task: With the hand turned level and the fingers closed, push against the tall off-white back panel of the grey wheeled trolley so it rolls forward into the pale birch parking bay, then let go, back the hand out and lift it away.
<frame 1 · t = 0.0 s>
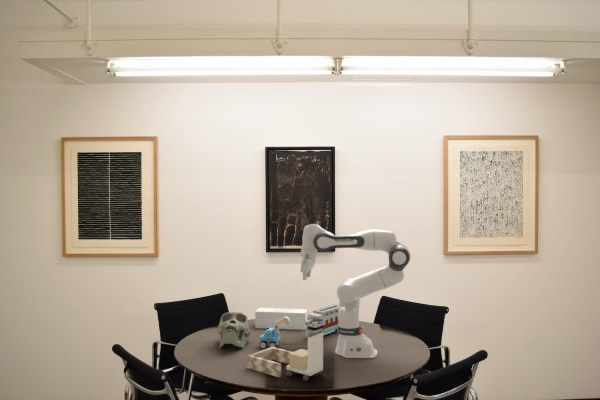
hand: (306, 278, 263), 39 cm above the table, tool pointing down, fingers open, 8 cm apart
toy vehicle: (325, 334, 293), on the table
toy excavator: (274, 347, 267), on the table
skull: (232, 345, 270), on the table
parking bay: (304, 375, 225), on the table
long white block: (281, 327, 310), on the table
trolley: (304, 351, 225), point 11 cm above the table, slide at 0.0 cm
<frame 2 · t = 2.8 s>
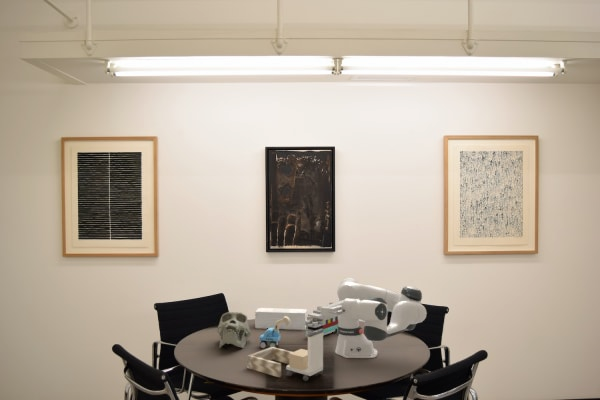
hand: (324, 306, 219), 34 cm above the table, tool horizontal, fingers open, 8 cm apart
nothing on the table moved.
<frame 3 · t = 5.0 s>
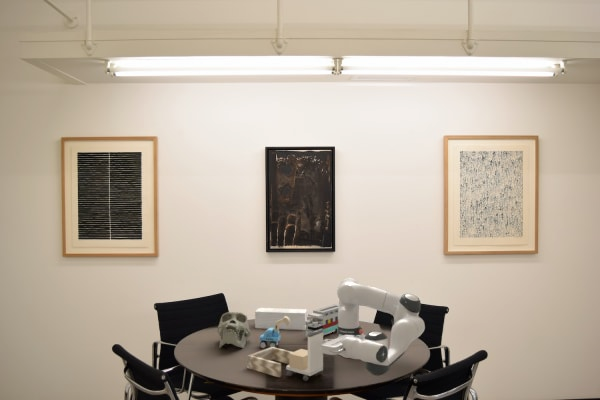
hand: (324, 341, 217), 18 cm above the table, tool horizontal, fingers closed
nothing on the table moved.
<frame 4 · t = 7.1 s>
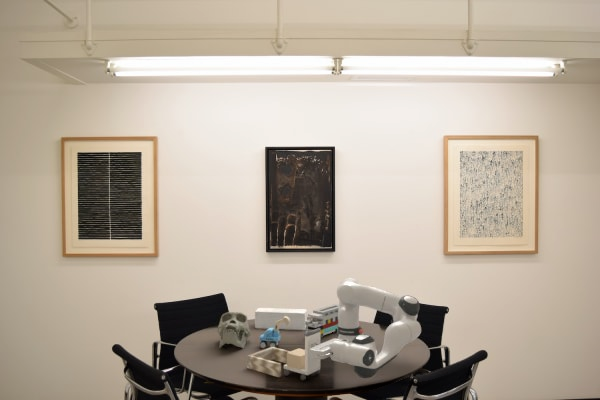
hand: (312, 345, 220), 15 cm above the table, tool horizontal, fingers closed
trolley: (302, 351, 225), point 11 cm above the table, slide at 1.5 cm, touching gripper
everything else where it was.
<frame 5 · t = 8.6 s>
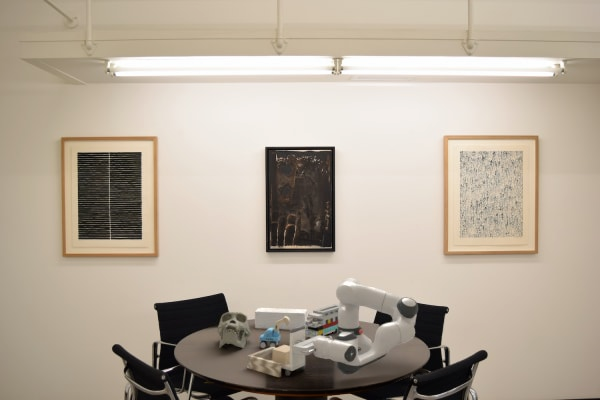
hand: (297, 342, 226), 15 cm above the table, tool horizontal, fingers closed
trolley: (287, 347, 231), point 11 cm above the table, slide at 10.3 cm, touching gripper
everything else where it was.
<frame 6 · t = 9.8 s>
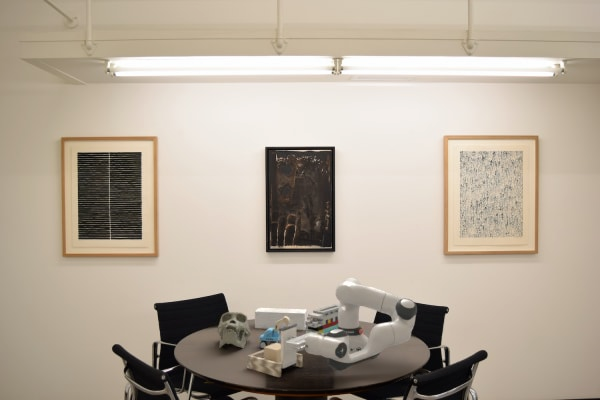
hand: (289, 338, 229), 16 cm above the table, tool horizontal, fingers closed
trolley: (278, 345, 234), point 11 cm above the table, slide at 15.7 cm, touching gripper
everything else where it was.
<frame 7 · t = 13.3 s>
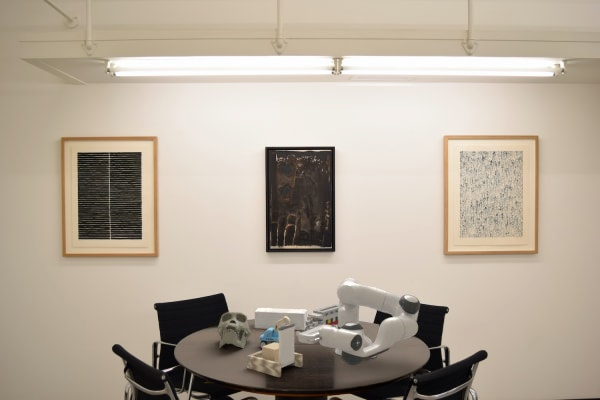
hand: (302, 330, 224), 21 cm above the table, tool horizontal, fingers open, 8 cm apart
trolley: (276, 344, 235), point 11 cm above the table, slide at 17.0 cm
everything else where it was.
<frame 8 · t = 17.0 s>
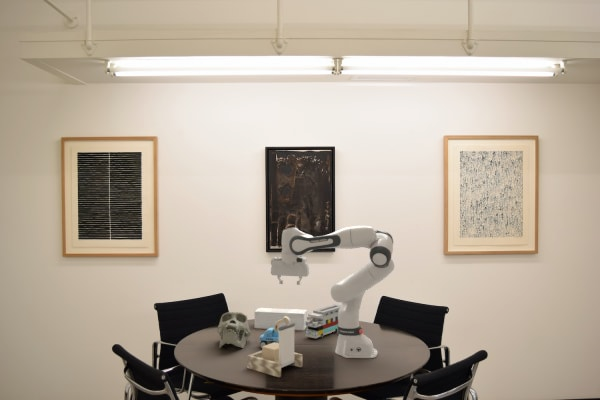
hand: (289, 284, 255), 37 cm above the table, tool pointing down, fingers open, 8 cm apart
nothing on the table moved.
at the end: trolley slide at 17.0 cm; the gripper is holding nothing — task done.
